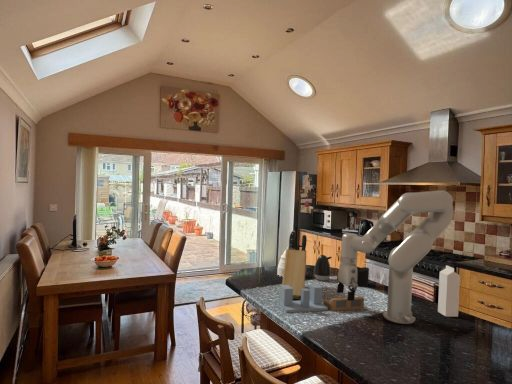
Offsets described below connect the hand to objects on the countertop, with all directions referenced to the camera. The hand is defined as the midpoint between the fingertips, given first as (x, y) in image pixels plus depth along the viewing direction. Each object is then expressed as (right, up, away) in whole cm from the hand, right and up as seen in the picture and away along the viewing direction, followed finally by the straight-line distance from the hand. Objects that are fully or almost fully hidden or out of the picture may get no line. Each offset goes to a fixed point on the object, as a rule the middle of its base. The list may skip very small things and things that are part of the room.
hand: (345, 296), depth 156 cm
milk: (+47, -8, -2) cm, 47 cm away
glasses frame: (0, -6, +3) cm, 6 cm away
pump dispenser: (-1, -5, +49) cm, 49 cm away
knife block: (-21, -5, +25) cm, 33 cm away
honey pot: (-22, -4, +57) cm, 61 cm away
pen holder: (+19, -6, +40) cm, 45 cm away
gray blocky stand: (-20, -5, 0) cm, 21 cm away
